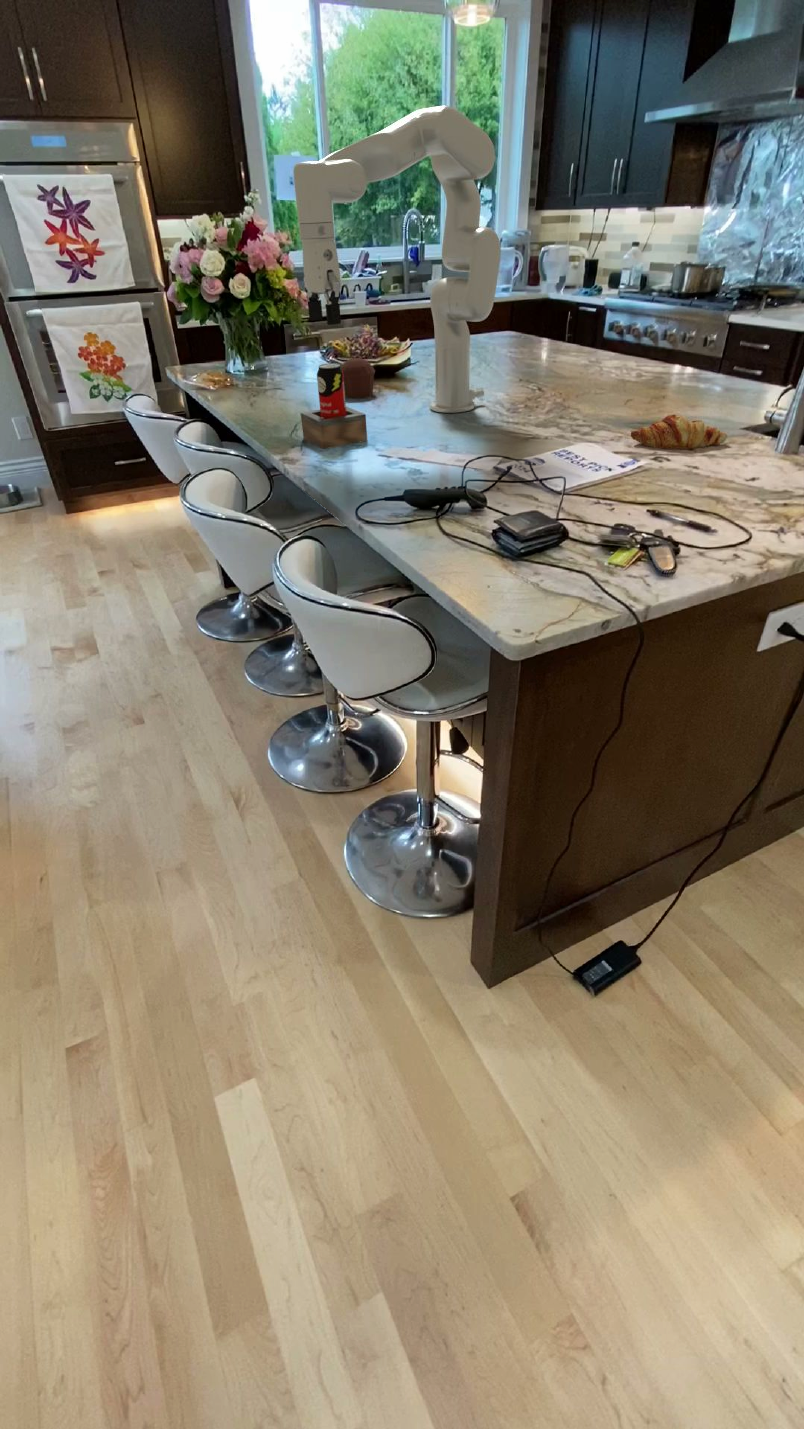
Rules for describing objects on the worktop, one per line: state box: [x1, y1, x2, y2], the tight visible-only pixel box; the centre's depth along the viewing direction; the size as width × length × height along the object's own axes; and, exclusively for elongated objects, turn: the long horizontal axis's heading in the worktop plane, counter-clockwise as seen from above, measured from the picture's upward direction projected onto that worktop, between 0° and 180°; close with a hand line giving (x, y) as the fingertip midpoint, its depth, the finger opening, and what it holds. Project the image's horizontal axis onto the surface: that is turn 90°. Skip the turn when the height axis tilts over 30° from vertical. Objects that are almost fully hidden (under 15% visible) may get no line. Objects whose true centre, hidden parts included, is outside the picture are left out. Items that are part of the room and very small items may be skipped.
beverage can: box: [316, 362, 347, 419], centre depth 176 cm, size 6×6×12 cm
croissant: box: [630, 414, 728, 450], centre depth 166 cm, size 21×10×8 cm, turn 82°
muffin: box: [340, 357, 376, 399], centre depth 220 cm, size 12×11×10 cm
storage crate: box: [300, 406, 368, 450], centre depth 180 cm, size 12×12×6 cm
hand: (325, 322), depth 167 cm, fingers open, 9 cm apart
